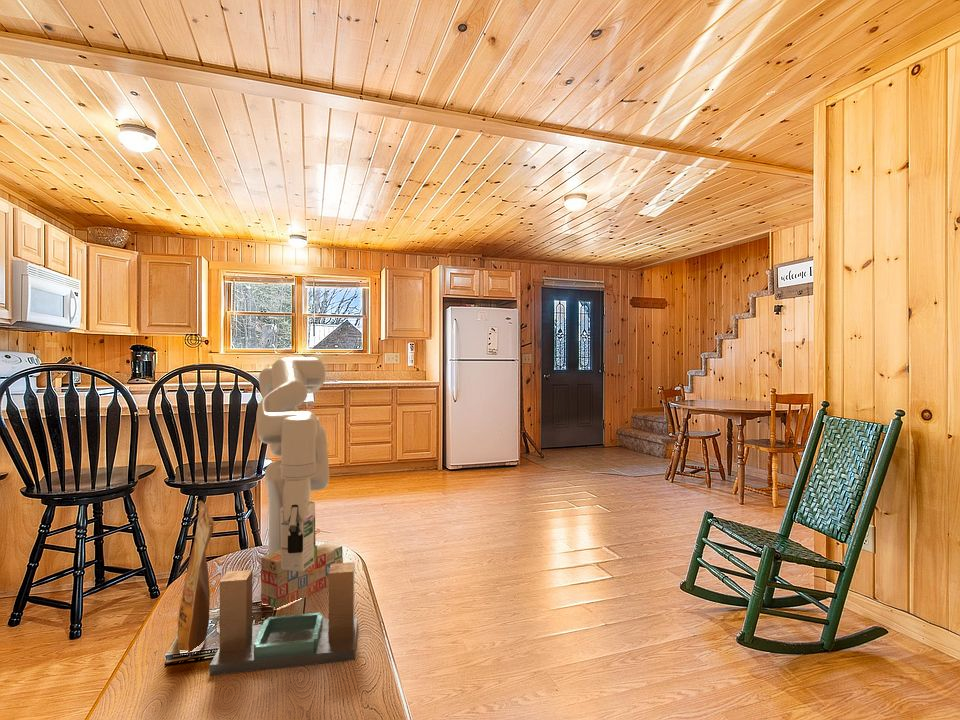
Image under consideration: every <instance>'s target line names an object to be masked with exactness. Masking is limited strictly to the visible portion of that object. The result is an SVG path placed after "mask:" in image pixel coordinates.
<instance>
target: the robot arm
mask: <svg viewBox="0 0 960 720" xmlns="http://www.w3.org/2000/svg"><path fill="white" fill-rule="evenodd" d="M325 379H326V368H325V365H324V363H323V361H322V360H321V359H320V358H317V357H314V356H310V357H309V356H308V357H307V356H306V357H305V356H304V357H302V356H301V357H292V356H290V357H282V358H279V359H277V360H275V362H273V364H272V366H268V367H266V368H264V369H262V370H261V371H260V373H259V377H258V385H259V392H260V395H261V398H262V399H261V400H260V402H259V404H258V406H257V410H256V433H257V437H258V439H259V441H260V442H261V443H263V444H266V445H269V446H270V451H271V453H272V455H274V457H275V456H276V457H280V458H281V459H279V460H275V461H274V462H271V463H270V464H269V465H267V467H266V468H265V473H264V477H265V479H264V480H265V484H266V491H267V492H266V493H267V504H268V505H267V506H268V554H270V553H273V552H276V551H278V550H281V539H280V508H282V507H283V519H282V522H283V523H284V524H286V522H288V520H289V530H288V553H301V552H302V551H303V534H302V523H303V522H304V521H305V520H306V516H307V511H308V506H309V503H310V502H311V492H312V491H313V492H314V491H319V490H323V489H325V488H327V486H328V485H329V483H330V463H329V452H328V442H327V434H326V430H325V428H324V426H323V425H321V424H320V418H319V417H318V416H317V414H315V413H314V412H312V411H306V410H305V411H299V409H298V407H299V406H301V405H302V404H303V403H304V402H305V401H306V399H307V396H308V394H315V393H317V392H319V391H320V389H321V388H322V386H323V385H324V383H325ZM299 516H300V521H297V518H298V517H299ZM289 517H290V518H289ZM297 524H299V527H298V526H297Z"/></svg>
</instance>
